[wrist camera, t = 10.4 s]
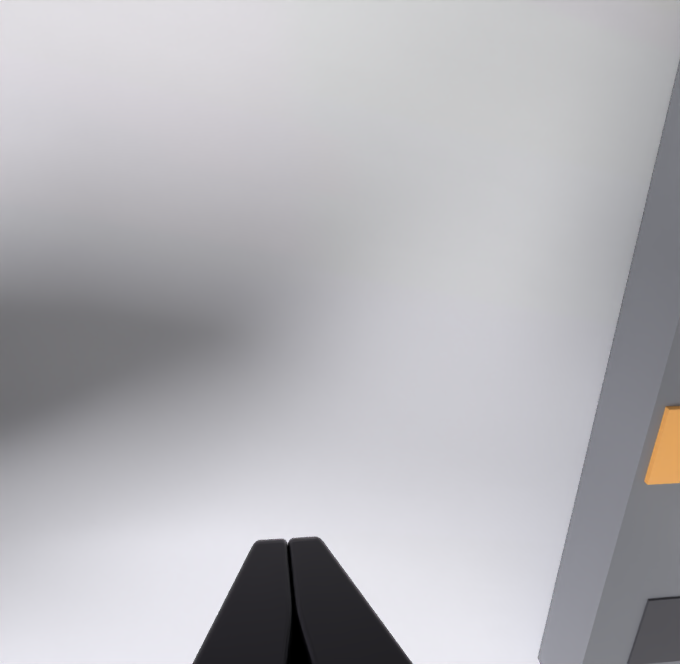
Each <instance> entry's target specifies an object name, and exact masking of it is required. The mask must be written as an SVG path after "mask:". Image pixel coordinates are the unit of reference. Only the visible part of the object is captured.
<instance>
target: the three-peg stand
mask: <svg viewBox="0 0 680 664" xmlns="http://www.w3.org/2000/svg"><path fill="white" fill-rule="evenodd" d="M538 660H539V662H540V664H680V62H679V66H678V70H677V74H676V79H675V83H674V87H673V91H672V95H671V100H670V104H669V108H668V112H667V116H666V121H665V125H664V129H663V133H662V137H661V142H660V146H659V150H658V154H657V159H656V163H655V167H654V171H653V175H652V180H651V184H650V188H649V192H648V196H647V201H646V205H645V209H644V213H643V217H642V222H641V226H640V230H639V234H638V238H637V243H636V247H635V251H634V255H633V260H632V264H631V268H630V272H629V276H628V281H627V285H626V289H625V293H624V297H623V302H622V306H621V310H620V314H619V318H618V323H617V327H616V331H615V335H614V339H613V344H612V348H611V352H610V356H609V361H608V365H607V369H606V373H605V377H604V382H603V386H602V390H601V394H600V398H599V403H598V407H597V411H596V415H595V419H594V424H593V428H592V432H591V436H590V441H589V445H588V449H587V453H586V457H585V462H584V466H583V470H582V474H581V478H580V483H579V487H578V491H577V495H576V499H575V504H574V508H573V512H572V516H571V520H570V525H569V529H568V533H567V537H566V542H565V546H564V550H563V554H562V558H561V563H560V567H559V571H558V575H557V579H556V584H555V588H554V592H553V596H552V600H551V605H550V609H549V613H548V617H547V621H546V626H545V630H544V634H543V638H542V643H541V647H540V651H539V655H538Z"/></svg>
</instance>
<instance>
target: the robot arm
mask: <svg viewBox="0 0 680 664" xmlns="http://www.w3.org/2000/svg"><path fill="white" fill-rule="evenodd" d="M193 664H413V663H412V662H411V661H410V659H409V658H408V657H407V655H406V654H405V653H404V651H403V650H402V648H401V647H400V646H399V644H398V643H397V642H396V640H395V639H394V638H393V636H392V635H391V633H390V632H389V631H388V629H387V628H386V627H385V625H384V624H383V622H382V621H381V620H380V618H379V617H378V616H377V614H376V613H375V612H374V610H373V609H372V607H371V606H370V605H369V603H368V602H367V601H366V599H365V598H364V597H363V595H362V594H361V592H360V591H359V590H358V588H357V587H356V586H355V584H354V583H353V582H352V580H351V579H350V577H349V576H348V575H347V573H346V572H345V571H344V569H343V568H342V567H341V565H340V564H339V562H338V561H337V560H336V558H335V557H334V556H333V554H332V553H331V551H330V550H329V549H328V547H327V546H326V545H325V543H324V542H323V541H322V540H321V539H320V538H319V537H301V538H292V539H290V540H289V542H288V544H287V542H286V540H284V539H268V540H258V541H256V542H255V543H254V544H253V546H252V548H251V550H250V552H249V554H248V556H247V557H246V559H245V561H244V563H243V565H242V567H241V569H240V571H239V573H238V575H237V577H236V579H235V581H234V583H233V585H232V587H231V589H230V591H229V593H228V595H227V597H226V599H225V601H224V603H223V605H222V607H221V609H220V611H219V613H218V615H217V617H216V618H215V620H214V622H213V624H212V626H211V628H210V630H209V632H208V634H207V636H206V638H205V640H204V642H203V644H202V646H201V648H200V650H199V652H198V654H197V656H196V658H195V660H194V662H193Z"/></svg>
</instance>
